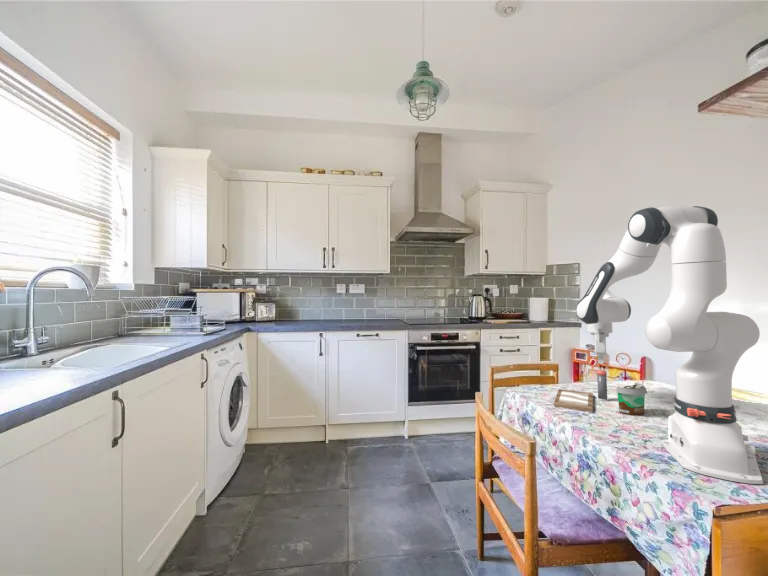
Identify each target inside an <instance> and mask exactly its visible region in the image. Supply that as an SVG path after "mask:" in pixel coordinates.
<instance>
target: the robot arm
mask: <svg viewBox="0 0 768 576" xmlns="http://www.w3.org/2000/svg"><path fill="white" fill-rule="evenodd" d="M718 223H719V219H718V215H717V214H716V212H715V211H714V210H713V209H711V208H708V207H704V206H694V205H693V206H684V205H683V206H679V205H678V206H676V205H667V206H659V207H646V208H642V209H639V210H637V211H635V212H634V213H633V214H632V216H630V219H629V220H628V222H627V224H628V225H627V230H626V231H625V233H624V235H623V237H622V238H621V241H620V243H619V246H618V248H617V250H616V251H615V253H614V255H612V256H611V258H610V259H609V260H608V261H607V262H605V263H604V264H602V266H600V268H599V269H598V270H597V272H596V274H595V276H594V278H593V279H592V282H591V283H590V285H589V287H588V288H587V291H586V293H584V296H583V297H582V298H581V299H580V300H579V301H578V303H577V305H576V308H575V314H576V316H577V318H578V319H579V320H580V321H581V322H583V323H584V324H585V325H586V331H587V332H588V333H590V336H591V337H593V342H594V352H595V354H596V355H597V363H598V364H602V365H603V364H604V358H605V357H604V356H605V355H606V354H607V342H606V340H607V338H609V336H610V334H612V333H613V323H621V322H622V323H623V322H626V321H627V320H628V319H629V318H630V316H631V313H632V307H631V305H630V303H629V301H628V300H626V299H624V298H621V297H618V296H616V295H614V294H613V293H611V291H610V290H609V288H610V287H611V286H612V285H613V284H615V283H618V282H620V281H621V280H625V279H627V278H630V277H634V276H635V277H636V276H639V275H640V274H641V275H642V274H643V273H645V272H647V271H648V270H649V269H650V268H651V267H652V265H654V262H655V260H656V258H657V256H658V253H659V252H660V249H661V247H662V244H665V245H667V247H669V249H670V288H669V289H670V291H669V295H668V297H667V300H666V301H665V303H664V305H663V306H662V308H661V309H660V310H659V312H657V313H655V315H654V316H653V315H652V317H650V318H649V320H648V321H647V322H646V325H645V330H644V333H645V336H646V338H647V340H648V342H649V343H650V344H651V345H652V346H653V347H655V348H656V349H659V350H663V351H668V352H669V351H670V352H676V353H682V352H683V353H684V352H685V353H686V352H687V353H688V352H690V353H691V352H692V354H691V356H690V358H689V359H688V360H687V361H686V362H685V363H683V364H681V365H679V366H678V368H676V370H675V373H674V375H675V395H676V396H674V400H673V401H674V402H673V405H674V410H675V411H674V413H672V414H671V415H669V416H668V439H661V441H660V442H661V443H660V444H661V446H662V447H663V448H664V449H665V450H667V452H668V453H669V454H670V455H671V456H672V457H673V458H674V459H675V460H676V461H677V463H679V464H680V466H681V467H683V468H684V469H686V470H688V471H691V472H694V473H697V474H701V475H705V476H709V477H712V478H716V479H722V480H726V481H730V482H731V481H732V482H736V483H743V484H749V485H763V484H764V480H763V476H762V473H761V470H760V467H759V464H758V461H757V458H756V449H755V448H756V447H755V446H754V445H749V444H745V442H749V436H748V435H745V434H743V430H742V428H743V427H742V425H740V424H739V423H737V420H738V418H737V412H736V411H737V410H736V409H735V405H734V404H733V397H732V396H733V395H732V390H733V389H732V382H733V374H734V372H735V368H736V366H737V365H738V362H739V361H740V359H741V357H742V356H743V355H744V354H745V353H746V352H747V351H748V350H749V349H750V348H753V347H754V346H755V345H756V344H757V343H758V342H759V339H760V336H761V334H760V333H761V332H760V329H759V326H758V324H757V323H756V322H755V320H754V319H753V318H751V317H749V316H748V315H745V314H740V313H736V312H728V311H708V309H709V305H710V304H711V303H712V302H713V301H714V300H715V299H716V298H718V297H720V296H721V295H723V294H724V293H725V292H726V290H727V288H728V284H727V283H728V282H727V278H728V277H727V276H728V275H727V262H726V261H727V255H726V248H725V247H726V246H725V242H724V239H723V235H722V232H721V230H720V228H719V226H718Z"/></svg>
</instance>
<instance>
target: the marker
mask: <svg viewBox="0 0 768 576" xmlns="http://www.w3.org/2000/svg"><path fill="white" fill-rule="evenodd" d="M607 375H608V373H607V370H603V369H597V370H596V376H597V377H596V378H597V379H596V381H597V400H598V401H600V402H608V401H609V399H608V382H607Z"/></svg>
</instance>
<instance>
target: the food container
mask: <svg viewBox="0 0 768 576" xmlns="http://www.w3.org/2000/svg"><path fill="white" fill-rule="evenodd" d="M615 392H616V393H617V401H618V411H619V414H621V413H622V414H621V415H626V416H631V417H632V416H633V417H640V416H641V415H642V416H644V415H643V414H645V398H646V394H648V390H647V388H646V386H645V385H644V384H642V383H639V382H634V384H632V385H625V386H624V387H621V386H616V390H615Z"/></svg>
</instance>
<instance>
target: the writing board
mask: <svg viewBox="0 0 768 576" xmlns="http://www.w3.org/2000/svg"><path fill="white" fill-rule="evenodd" d="M556 393H557V394H556V396H555V399H554V402H553V407H554V406H557V407H556V408H560V407H563V408H562V409H566V408H570V409H569V410H573V409H576V410H575V411H580V410H581V411H582V412H587V411H589V412H588V413H593V410H594V408H593V407H594V393H593V392H588V391H586V392H585V391H578V390H571V389H569V390H568V389H561V388H559V389H558V390H557V392H556Z"/></svg>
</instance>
